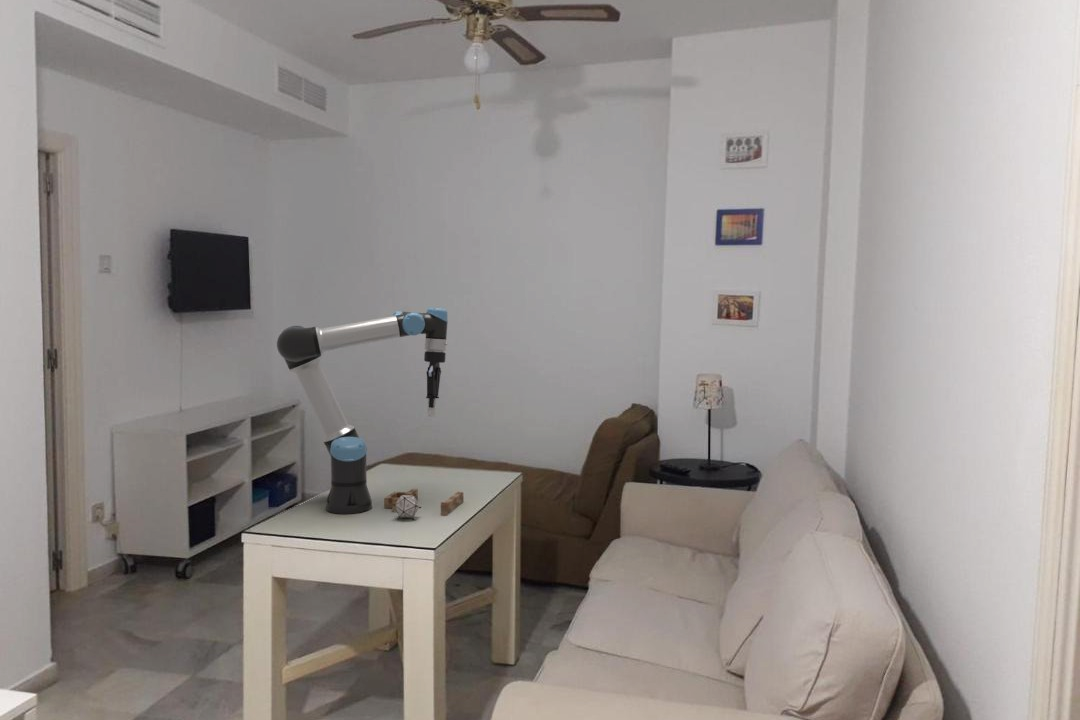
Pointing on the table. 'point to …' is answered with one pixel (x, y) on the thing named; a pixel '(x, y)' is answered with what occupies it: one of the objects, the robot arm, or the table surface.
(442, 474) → the table surface
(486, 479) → the table surface
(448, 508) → the wooden blocks
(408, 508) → the game die
